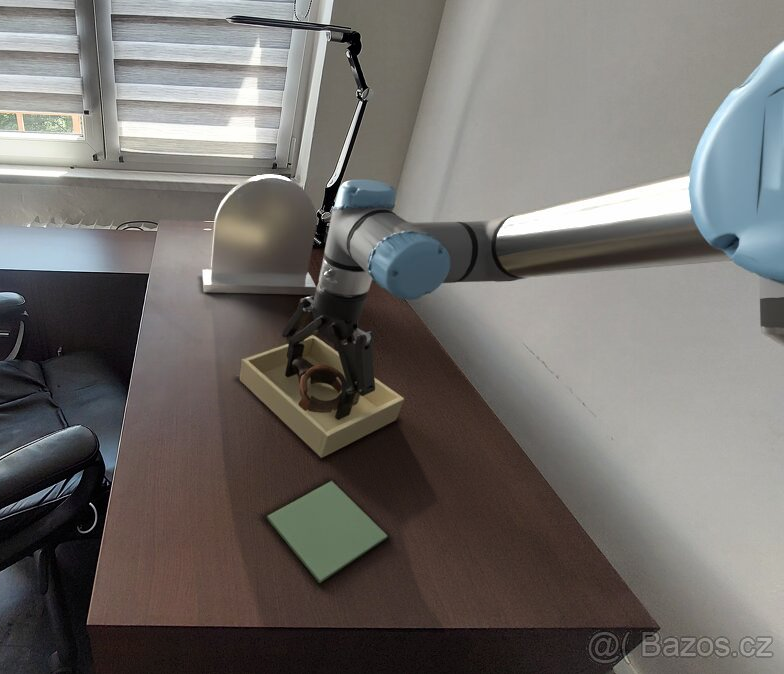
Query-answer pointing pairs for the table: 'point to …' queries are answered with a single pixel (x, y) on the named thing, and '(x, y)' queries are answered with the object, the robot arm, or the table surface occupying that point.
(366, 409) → the cream yellow tray
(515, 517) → the table surface
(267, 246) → the award
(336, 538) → the mat
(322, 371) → the pottery mug
